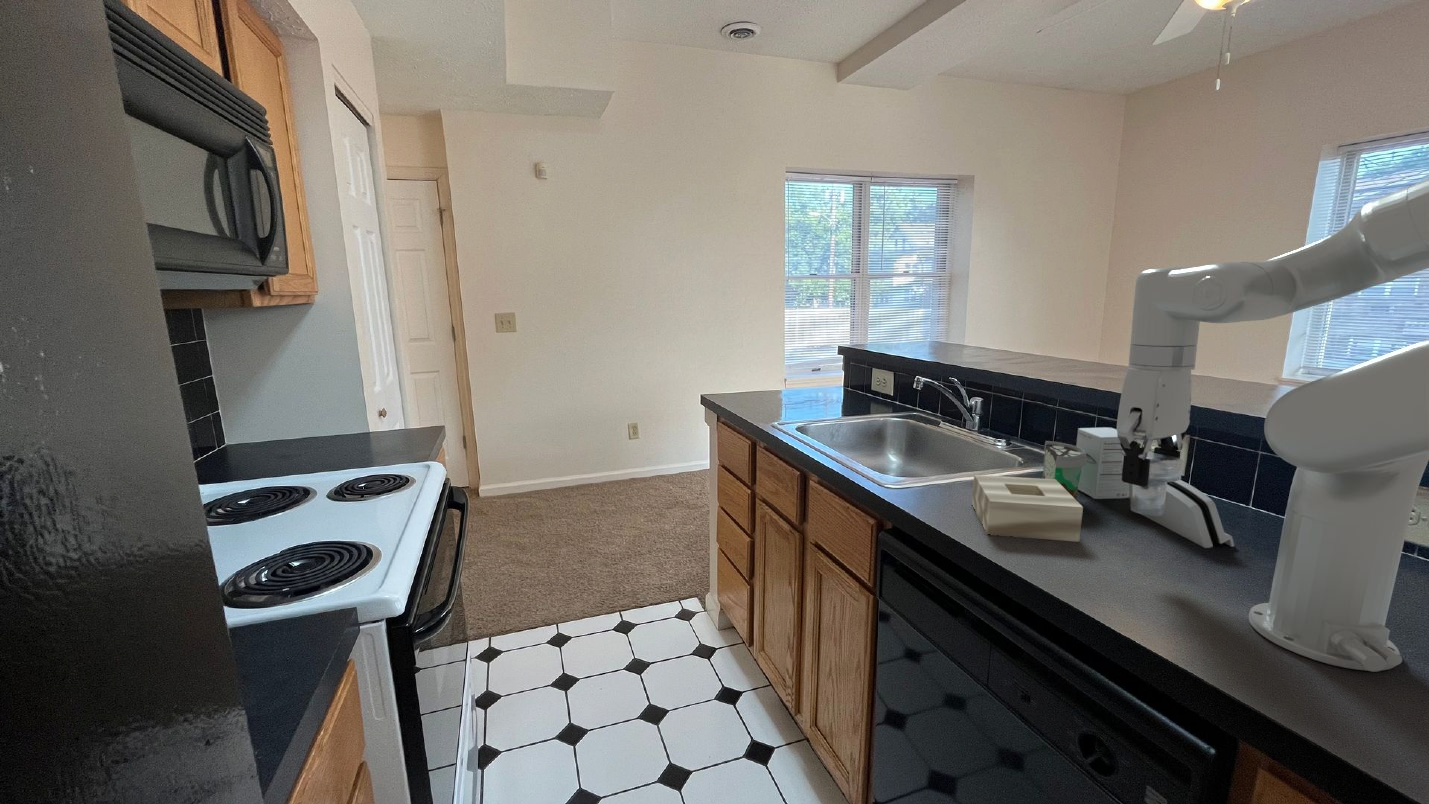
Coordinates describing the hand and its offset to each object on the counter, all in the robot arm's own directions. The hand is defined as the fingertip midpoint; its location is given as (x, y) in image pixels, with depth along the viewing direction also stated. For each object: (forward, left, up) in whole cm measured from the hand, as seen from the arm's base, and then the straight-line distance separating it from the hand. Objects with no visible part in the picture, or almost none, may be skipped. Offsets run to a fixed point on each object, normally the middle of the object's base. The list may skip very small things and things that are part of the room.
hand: (1149, 478), depth 87 cm
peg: (0, 0, -5) cm, 5 cm away
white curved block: (+17, -12, -14) cm, 25 cm away
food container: (+29, +1, -14) cm, 32 cm away
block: (+15, +12, -14) cm, 24 cm away
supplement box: (+34, -7, -14) cm, 37 cm away
